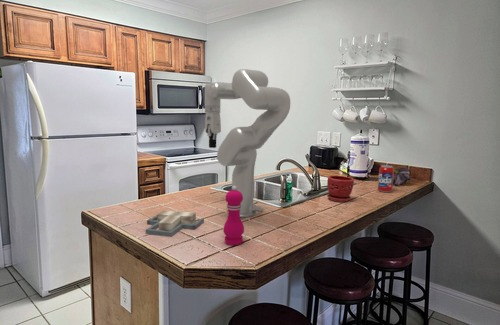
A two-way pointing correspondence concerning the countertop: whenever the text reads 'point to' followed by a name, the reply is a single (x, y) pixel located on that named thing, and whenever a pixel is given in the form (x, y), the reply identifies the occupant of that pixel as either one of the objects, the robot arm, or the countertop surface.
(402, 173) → the decorative flower
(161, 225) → the t block
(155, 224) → the dock
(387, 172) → the soda can
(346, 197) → the plant pot
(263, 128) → the robot arm
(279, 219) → the countertop surface
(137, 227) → the countertop surface
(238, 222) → the pepper mill
